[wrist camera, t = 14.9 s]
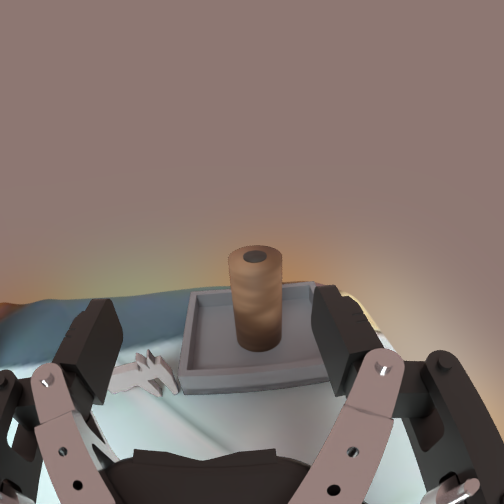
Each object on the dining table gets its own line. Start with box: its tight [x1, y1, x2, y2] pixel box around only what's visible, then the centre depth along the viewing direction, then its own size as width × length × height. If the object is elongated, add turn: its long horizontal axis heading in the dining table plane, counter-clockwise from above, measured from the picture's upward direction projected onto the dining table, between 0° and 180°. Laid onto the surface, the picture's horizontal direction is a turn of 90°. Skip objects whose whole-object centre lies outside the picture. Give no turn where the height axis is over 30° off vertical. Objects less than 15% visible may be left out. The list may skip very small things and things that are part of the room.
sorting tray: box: [178, 281, 330, 395], centre depth 31 cm, size 16×14×3 cm
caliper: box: [108, 350, 178, 397], centre depth 22 cm, size 20×1×6 cm, turn 105°
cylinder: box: [228, 245, 282, 352], centre depth 29 cm, size 5×5×10 cm
